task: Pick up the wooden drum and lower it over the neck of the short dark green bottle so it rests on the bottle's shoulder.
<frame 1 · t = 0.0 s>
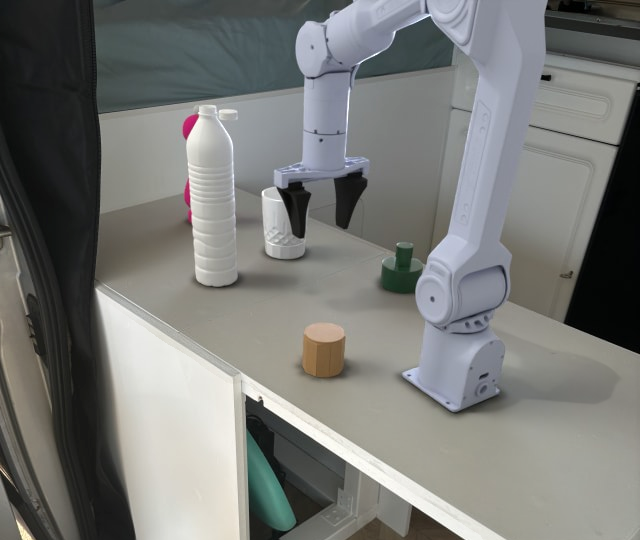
hand: (320, 231, 93), 10 cm above the table, tool pointing down, fingers open, 7 cm apart
wooden drum: (322, 366, 83), on the table
white cup: (285, 253, 113), on the table
pepper mill: (205, 221, 123), on the table
green bottle: (400, 284, 104), on the table
water bottle: (221, 282, 102), on the table
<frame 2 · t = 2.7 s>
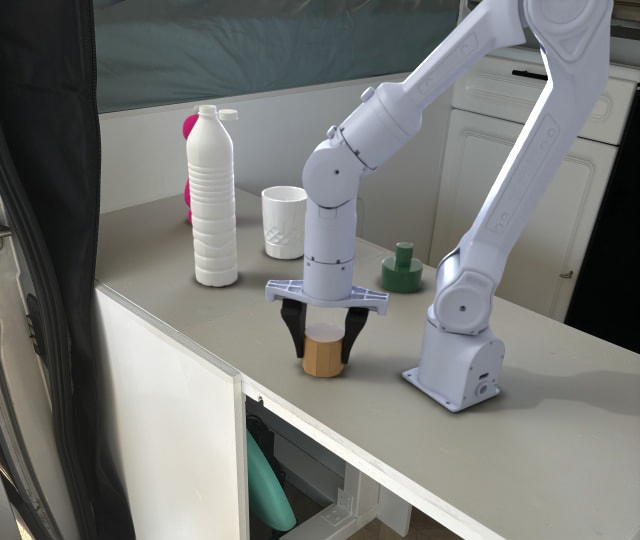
hand: (323, 357, 82), 1 cm above the table, tool pointing down, fingers closed on wooden drum, 5 cm apart
wooden drum: (322, 366, 83), on the table, touching gripper
everything else where it was.
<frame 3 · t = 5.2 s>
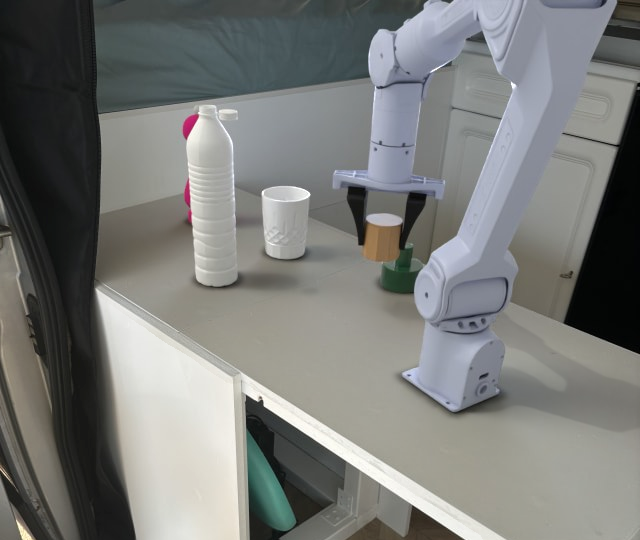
hand: (382, 245, 91), 10 cm above the table, tool pointing down, fingers closed on wooden drum, 5 cm apart
wooden drum: (380, 254, 91), point 9 cm above the table, touching gripper
everything else where it was.
when the fingers open (5 cm above the table, at t = 7.9 s): wooden drum stays where it is, resting on green bottle.
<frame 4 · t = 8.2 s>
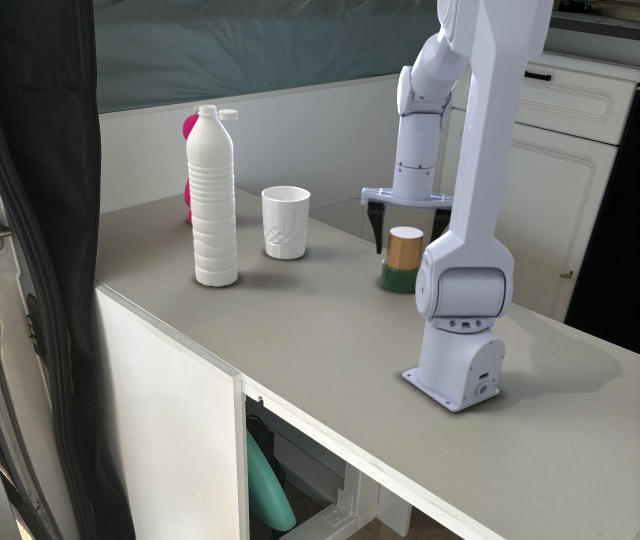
hand: (403, 254, 101), 5 cm above the table, tool pointing down, fingers open, 7 cm apart
wooden drum: (402, 263, 102), point 3 cm above the table, touching green bottle
green bottle: (400, 284, 104), on the table, touching wooden drum
everything else where it was.
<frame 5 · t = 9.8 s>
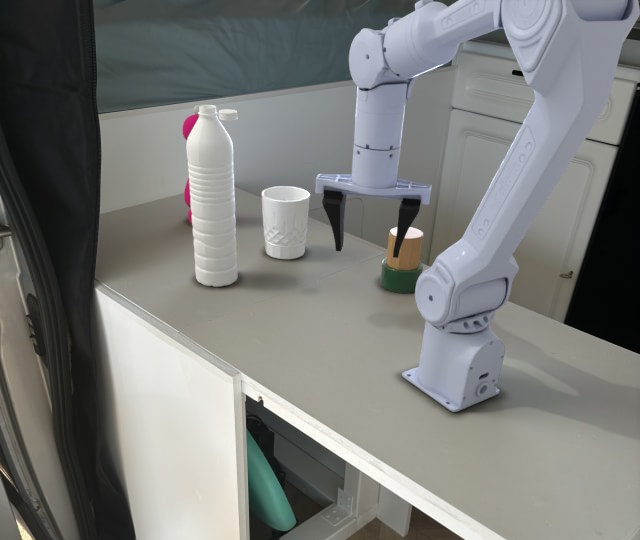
hand: (367, 251, 88), 10 cm above the table, tool pointing down, fingers open, 7 cm apart
nothing on the table moved.
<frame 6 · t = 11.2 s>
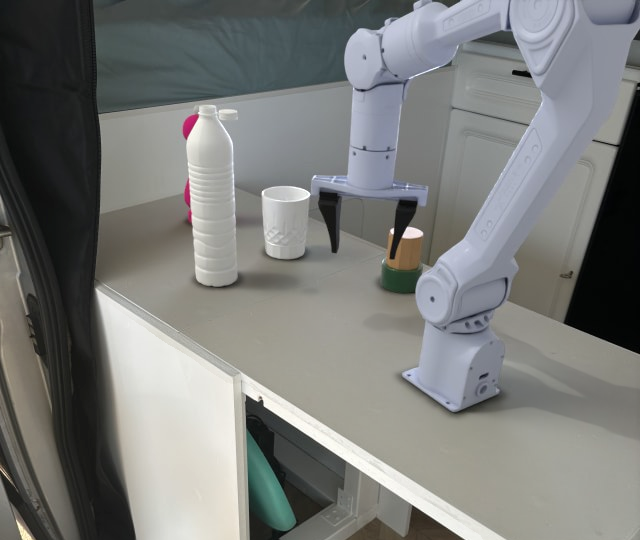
hand: (363, 253, 87), 10 cm above the table, tool pointing down, fingers open, 7 cm apart
nothing on the table moved.
at the end: wooden drum 0.0 cm off-centre on the green bottle, point 3.5 cm above the green bottle's base; wooden drum tilted 0°; the gripper is holding nothing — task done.
